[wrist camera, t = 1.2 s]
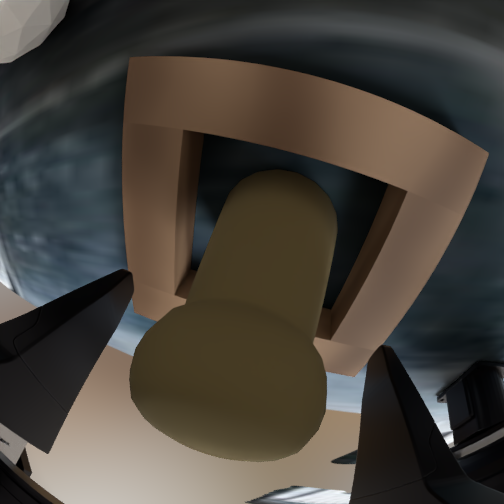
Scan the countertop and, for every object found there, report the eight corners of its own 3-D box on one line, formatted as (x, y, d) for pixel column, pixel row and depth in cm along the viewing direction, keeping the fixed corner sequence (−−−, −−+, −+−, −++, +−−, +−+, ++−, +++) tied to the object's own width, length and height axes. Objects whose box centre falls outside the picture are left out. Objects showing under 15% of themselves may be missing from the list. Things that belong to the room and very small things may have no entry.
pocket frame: (463, 140, 9) (489, 153, 7) (353, 347, 18) (354, 376, 16) (159, 59, 11) (129, 57, 8) (151, 288, 19) (134, 312, 17)
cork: (199, 211, 15) (67, 385, 6) (291, 144, 12) (196, 351, 3) (267, 288, 17) (212, 473, 8) (358, 243, 14) (377, 469, 5)
